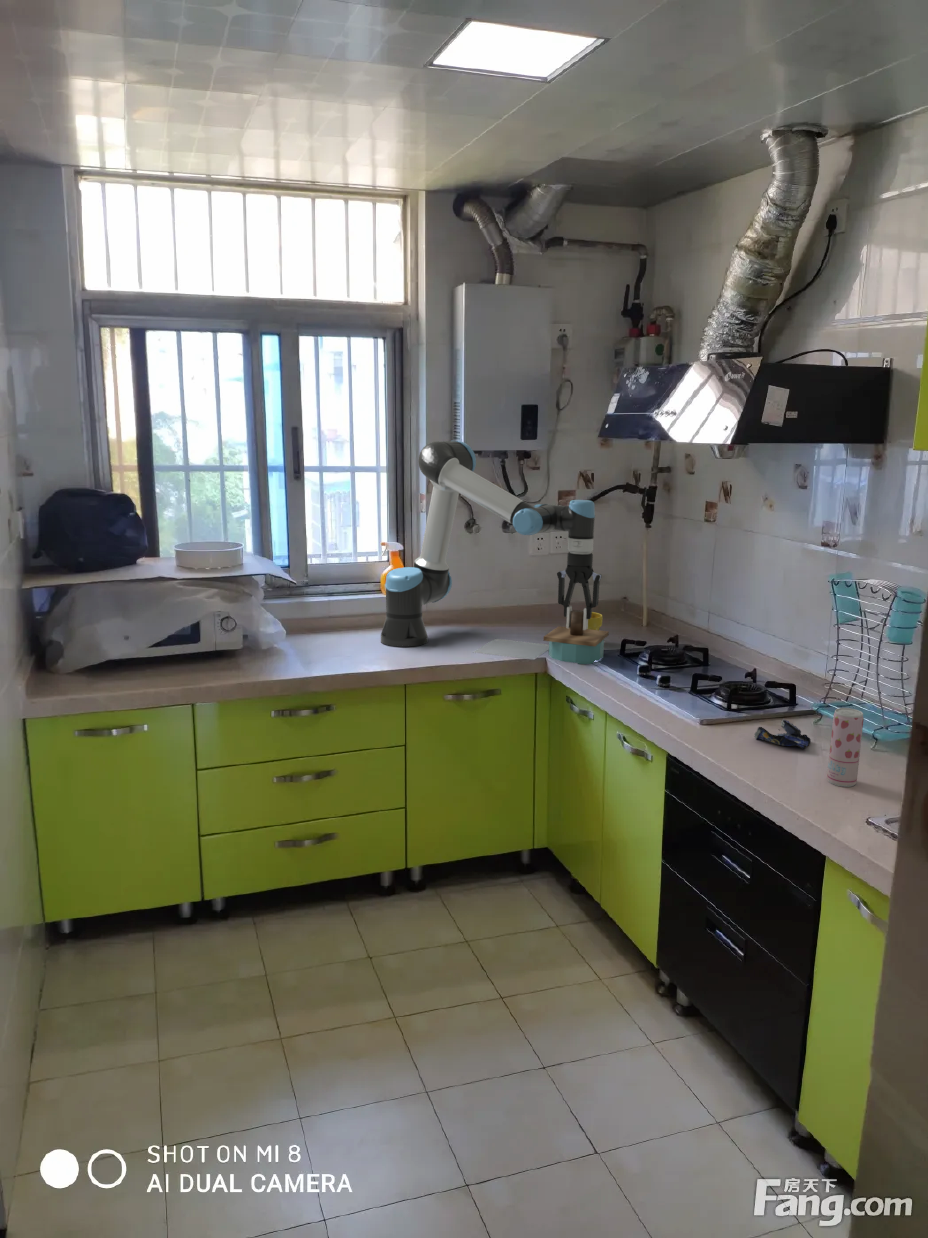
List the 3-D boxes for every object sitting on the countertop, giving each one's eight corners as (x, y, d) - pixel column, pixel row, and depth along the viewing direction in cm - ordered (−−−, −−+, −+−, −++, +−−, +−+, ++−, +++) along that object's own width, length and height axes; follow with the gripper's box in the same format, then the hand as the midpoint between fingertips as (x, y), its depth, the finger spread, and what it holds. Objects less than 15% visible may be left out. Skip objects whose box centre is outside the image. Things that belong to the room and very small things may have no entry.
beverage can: (820, 780, 191) (828, 710, 188) (837, 774, 195) (844, 705, 191) (845, 789, 187) (853, 718, 184) (862, 783, 190) (870, 713, 187)
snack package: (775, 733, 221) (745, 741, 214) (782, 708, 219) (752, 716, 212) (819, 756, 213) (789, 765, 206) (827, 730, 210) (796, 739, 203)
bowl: (542, 660, 282) (543, 641, 281) (558, 648, 296) (559, 630, 295) (594, 666, 276) (595, 646, 275) (607, 654, 290) (608, 635, 289)
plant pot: (591, 649, 296) (592, 619, 294) (563, 644, 302) (564, 614, 300) (606, 643, 304) (608, 614, 302) (579, 638, 310) (580, 609, 308)
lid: (543, 640, 281) (544, 613, 279) (558, 629, 295) (559, 604, 293) (595, 646, 275) (596, 619, 273) (608, 635, 289) (609, 609, 287)
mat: (472, 653, 288) (472, 652, 288) (495, 640, 306) (495, 638, 306) (534, 661, 281) (534, 659, 281) (554, 646, 299) (554, 645, 299)
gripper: (548, 551, 279) (545, 627, 284) (606, 555, 273) (602, 633, 278) (555, 548, 286) (552, 623, 291) (612, 552, 279) (608, 628, 284)
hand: (576, 628), depth 284 cm, fingers open, 4 cm apart
